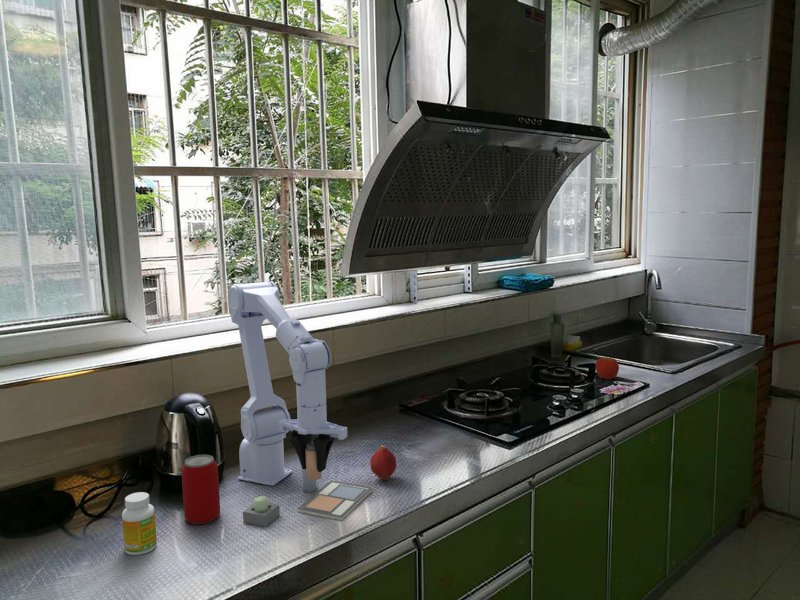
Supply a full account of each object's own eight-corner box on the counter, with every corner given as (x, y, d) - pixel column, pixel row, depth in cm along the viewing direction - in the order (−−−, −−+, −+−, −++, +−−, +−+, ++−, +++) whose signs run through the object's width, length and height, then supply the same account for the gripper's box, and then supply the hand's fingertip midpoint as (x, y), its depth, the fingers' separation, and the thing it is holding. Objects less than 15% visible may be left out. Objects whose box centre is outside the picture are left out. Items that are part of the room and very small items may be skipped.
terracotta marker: (303, 479, 125) (302, 445, 124) (311, 473, 128) (310, 440, 127) (316, 481, 124) (315, 447, 123) (324, 475, 127) (323, 442, 126)
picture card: (297, 511, 126) (297, 508, 126) (331, 483, 139) (331, 480, 139) (341, 520, 122) (341, 517, 122) (372, 490, 135) (372, 487, 135)
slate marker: (300, 490, 136) (299, 459, 135) (307, 484, 138) (306, 454, 137) (312, 492, 134) (311, 461, 133) (319, 487, 137) (318, 456, 136)
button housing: (243, 522, 122) (242, 511, 122) (258, 510, 127) (258, 500, 126) (265, 526, 120) (264, 516, 120) (279, 515, 125) (279, 504, 124)
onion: (382, 472, 145) (381, 438, 143) (402, 478, 141) (401, 444, 140) (365, 480, 140) (364, 446, 139) (385, 487, 136) (384, 452, 135)
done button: (251, 516, 123) (250, 501, 122) (259, 510, 125) (258, 495, 125) (263, 519, 121) (262, 503, 121) (271, 512, 124) (270, 497, 124)
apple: (607, 382, 215) (607, 360, 214) (590, 377, 222) (590, 355, 221) (623, 379, 219) (624, 357, 218) (605, 374, 226) (606, 353, 225)
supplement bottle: (143, 558, 110) (139, 505, 109) (117, 553, 111) (113, 501, 110) (163, 542, 115) (159, 491, 114) (138, 538, 116) (134, 488, 115)
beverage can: (224, 509, 127) (221, 452, 126) (215, 526, 121) (212, 466, 119) (190, 510, 127) (186, 453, 125) (180, 527, 120) (176, 467, 119)
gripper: (268, 404, 123) (271, 471, 125) (334, 413, 118) (336, 482, 120) (288, 395, 130) (290, 458, 132) (351, 402, 124) (353, 468, 126)
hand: (313, 468), depth 126 cm, fingers closed on terracotta marker, 3 cm apart
